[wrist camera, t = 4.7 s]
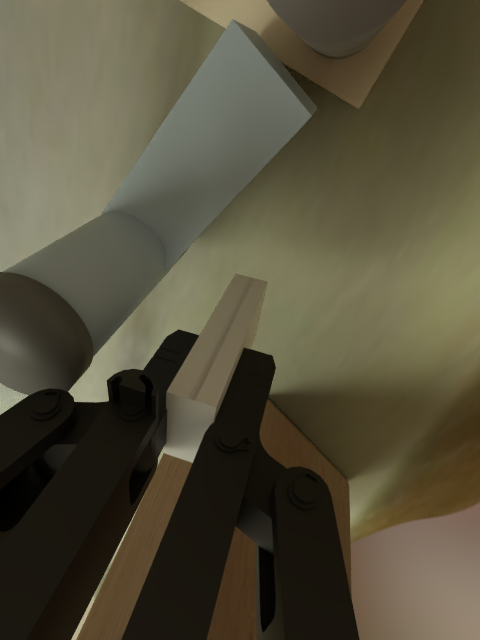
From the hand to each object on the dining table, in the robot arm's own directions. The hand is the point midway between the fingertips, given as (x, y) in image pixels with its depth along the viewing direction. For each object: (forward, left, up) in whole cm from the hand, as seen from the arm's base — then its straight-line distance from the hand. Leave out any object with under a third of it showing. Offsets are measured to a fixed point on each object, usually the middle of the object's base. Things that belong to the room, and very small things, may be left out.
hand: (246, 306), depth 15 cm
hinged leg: (-4, +3, -2) cm, 5 cm away
